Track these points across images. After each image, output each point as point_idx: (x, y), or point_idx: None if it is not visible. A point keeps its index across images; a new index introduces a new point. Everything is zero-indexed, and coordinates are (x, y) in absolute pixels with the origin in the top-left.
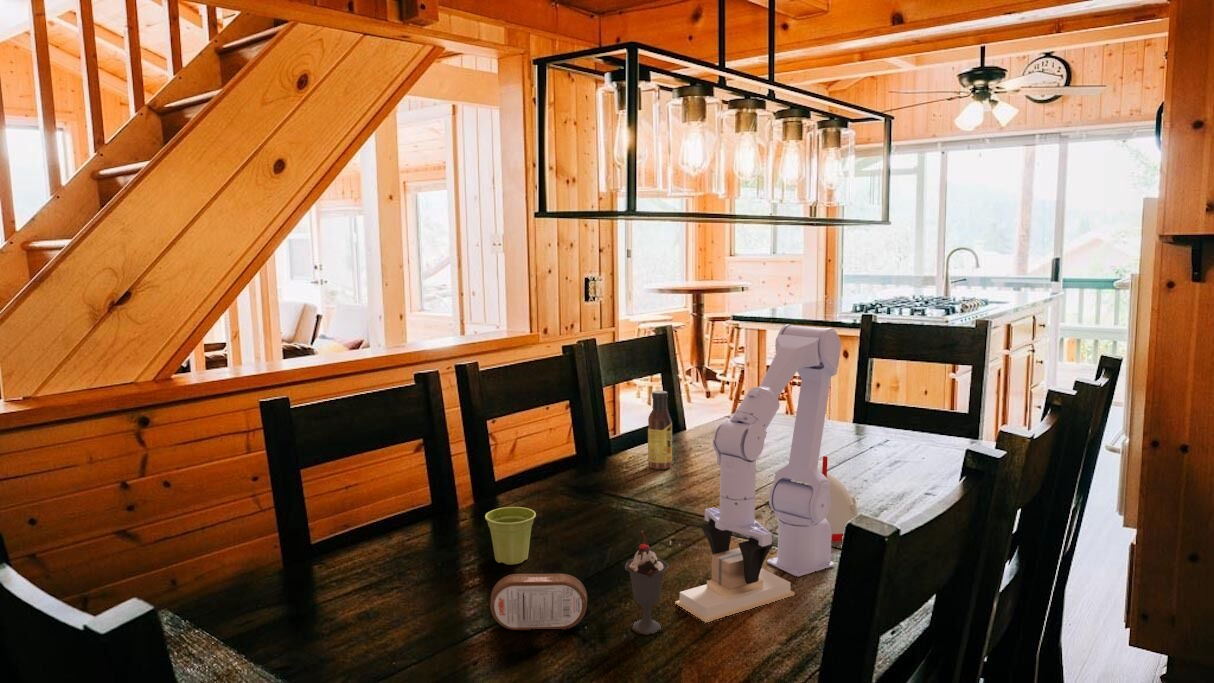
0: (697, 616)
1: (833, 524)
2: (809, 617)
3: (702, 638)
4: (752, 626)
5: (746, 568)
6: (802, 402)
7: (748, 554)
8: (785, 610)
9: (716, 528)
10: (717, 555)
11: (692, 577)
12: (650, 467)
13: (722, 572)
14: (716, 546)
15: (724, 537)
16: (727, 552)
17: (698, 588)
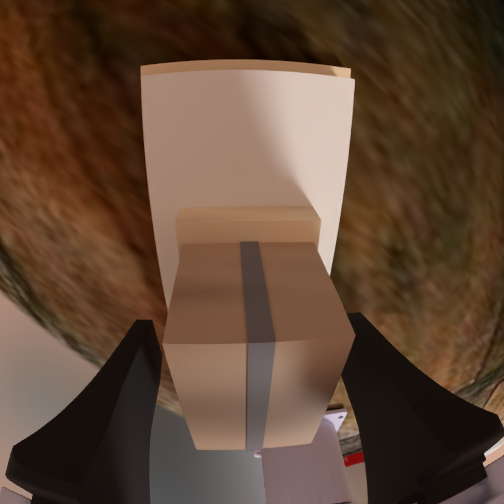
0: (196, 61)
1: None
2: (80, 343)
3: (74, 13)
4: (68, 203)
5: (109, 371)
6: None
7: (29, 436)
8: (126, 330)
9: (424, 480)
10: (322, 355)
11: (436, 255)
12: None
13: (232, 286)
14: (388, 391)
15: (379, 449)
16: (312, 401)
17: (330, 171)
